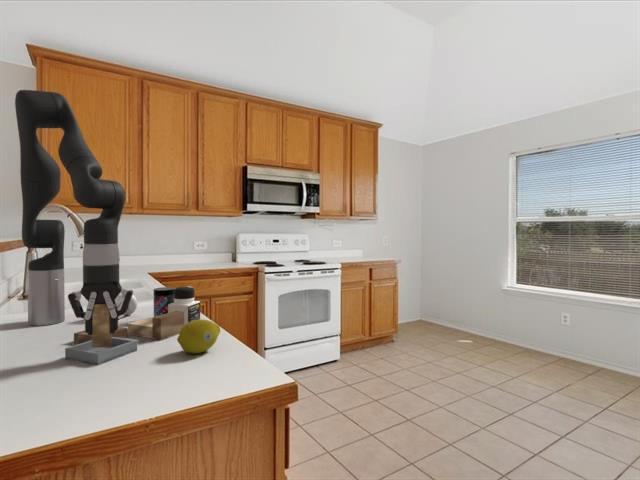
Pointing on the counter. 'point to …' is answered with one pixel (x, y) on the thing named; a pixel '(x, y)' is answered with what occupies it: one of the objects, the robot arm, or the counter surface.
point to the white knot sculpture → (131, 306)
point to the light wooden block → (141, 328)
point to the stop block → (167, 325)
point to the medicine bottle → (185, 304)
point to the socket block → (84, 337)
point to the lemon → (198, 336)
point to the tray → (100, 351)
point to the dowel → (101, 326)
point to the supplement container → (162, 300)
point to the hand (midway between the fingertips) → (102, 333)
